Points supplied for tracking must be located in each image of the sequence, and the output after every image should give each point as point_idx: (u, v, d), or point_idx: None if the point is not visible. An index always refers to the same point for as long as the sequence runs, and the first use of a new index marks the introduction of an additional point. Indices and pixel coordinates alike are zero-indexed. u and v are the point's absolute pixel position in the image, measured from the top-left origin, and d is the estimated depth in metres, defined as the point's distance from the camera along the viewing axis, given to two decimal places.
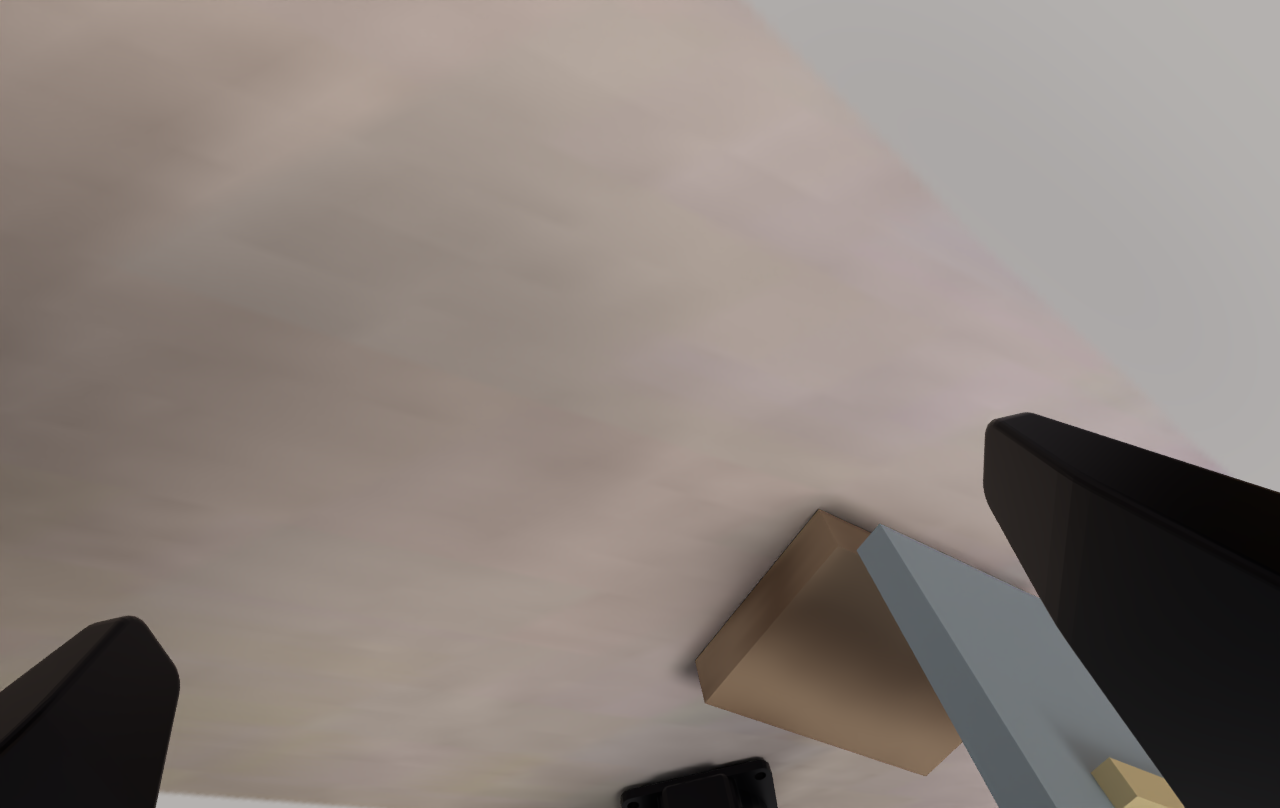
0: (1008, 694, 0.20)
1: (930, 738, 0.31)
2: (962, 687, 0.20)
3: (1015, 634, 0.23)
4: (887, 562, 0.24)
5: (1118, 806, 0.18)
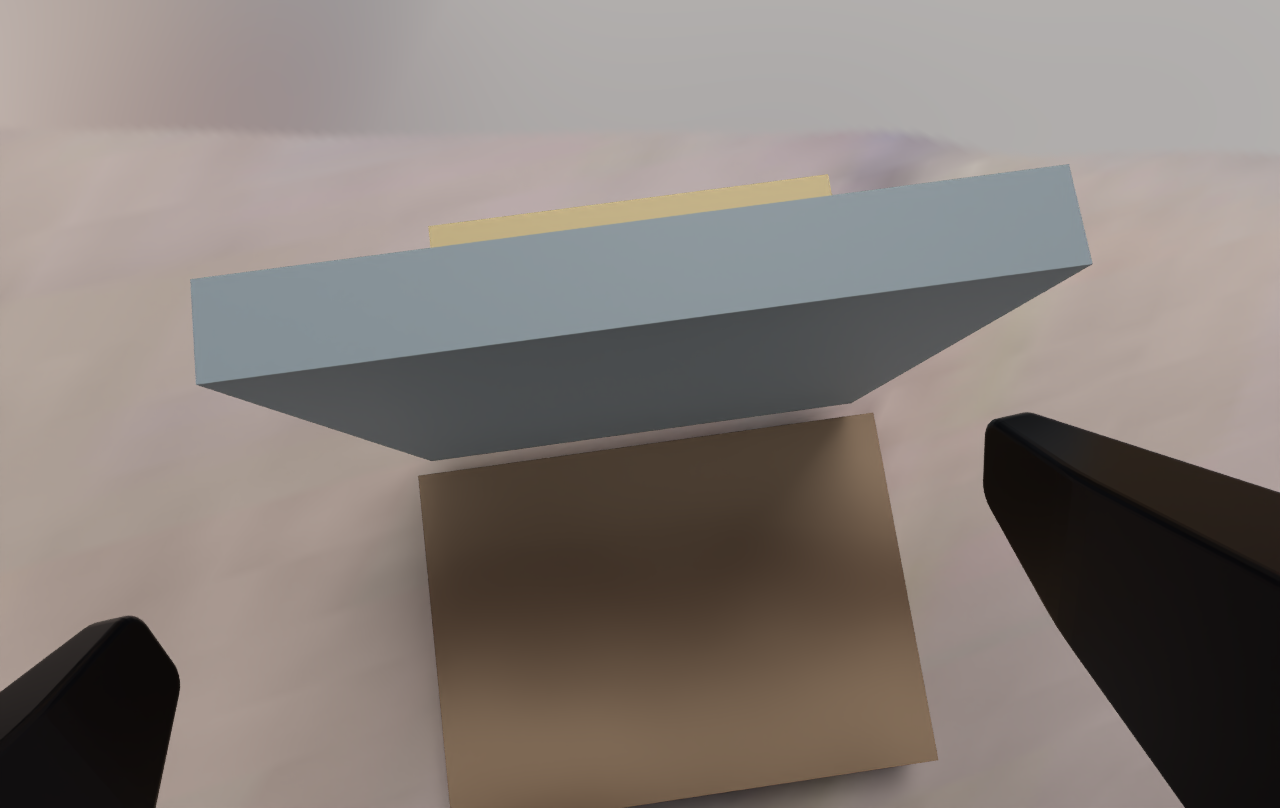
0: None
1: (860, 682, 0.18)
2: None
3: None
4: None
5: None
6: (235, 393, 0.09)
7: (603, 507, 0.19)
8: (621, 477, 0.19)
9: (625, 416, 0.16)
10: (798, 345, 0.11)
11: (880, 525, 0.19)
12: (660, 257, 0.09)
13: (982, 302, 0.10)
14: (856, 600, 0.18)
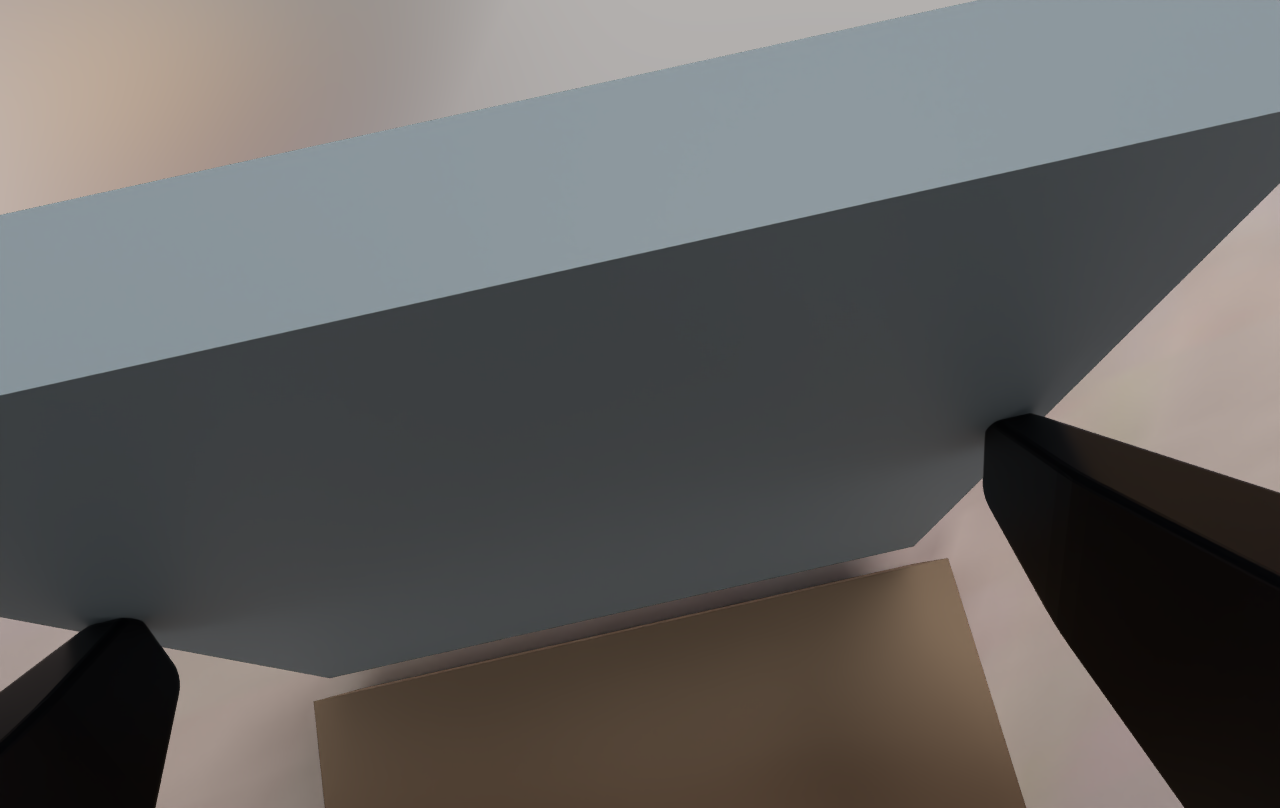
0: None
1: None
2: None
3: None
4: None
5: None
6: None
7: (575, 729, 0.13)
8: (598, 682, 0.13)
9: (572, 582, 0.10)
10: (789, 394, 0.06)
11: (980, 727, 0.13)
12: (450, 180, 0.04)
13: (1123, 255, 0.05)
14: None
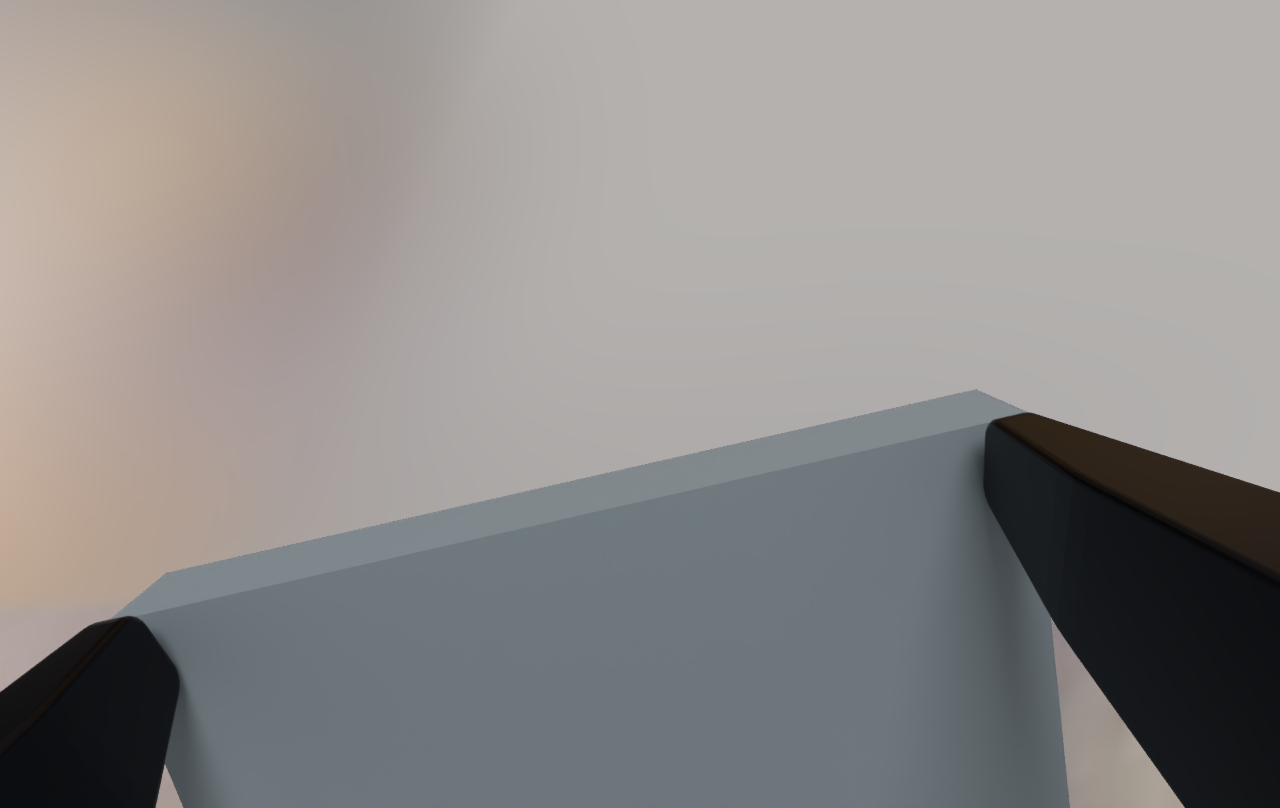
0: None
1: None
2: None
3: None
4: None
5: None
6: None
7: None
8: None
9: None
10: (801, 660, 0.09)
11: None
12: (589, 489, 0.09)
13: (976, 532, 0.09)
14: None
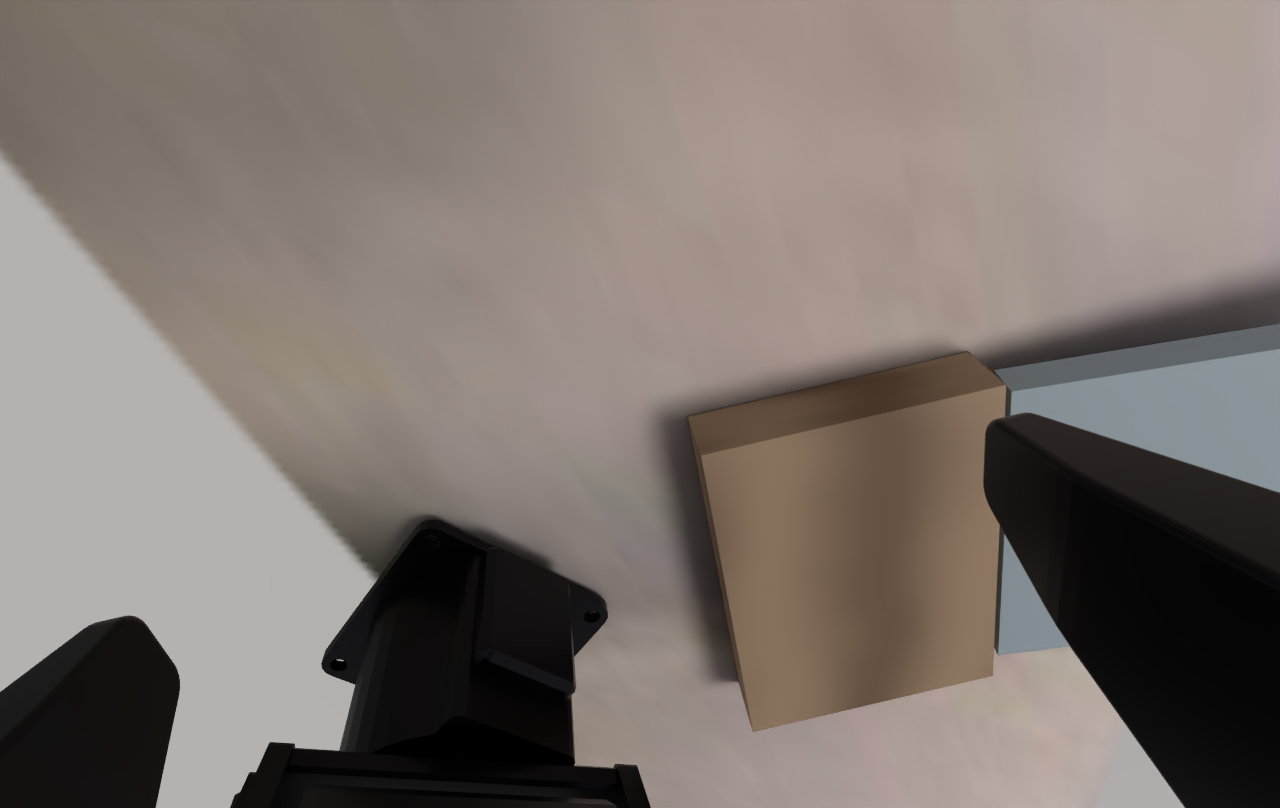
0: None
1: (806, 689, 0.25)
2: (1243, 338, 0.21)
3: None
4: (1053, 369, 0.21)
5: None
6: None
7: (953, 525, 0.22)
8: (975, 534, 0.22)
9: None
10: None
11: (912, 688, 0.25)
12: None
13: None
14: (862, 681, 0.25)
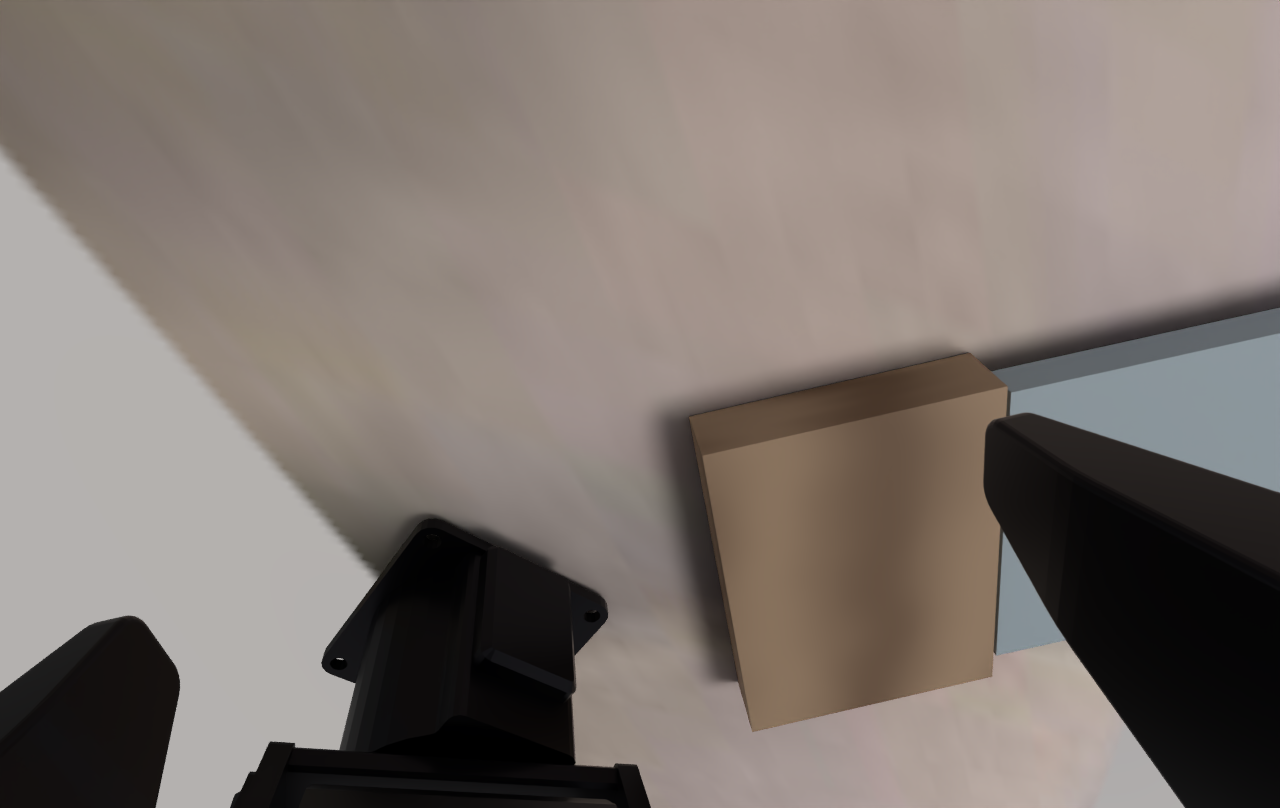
0: None
1: (806, 689, 0.25)
2: (1220, 330, 0.21)
3: None
4: (1047, 368, 0.21)
5: None
6: None
7: (954, 526, 0.22)
8: (976, 535, 0.22)
9: None
10: None
11: (912, 688, 0.25)
12: None
13: None
14: (862, 681, 0.25)
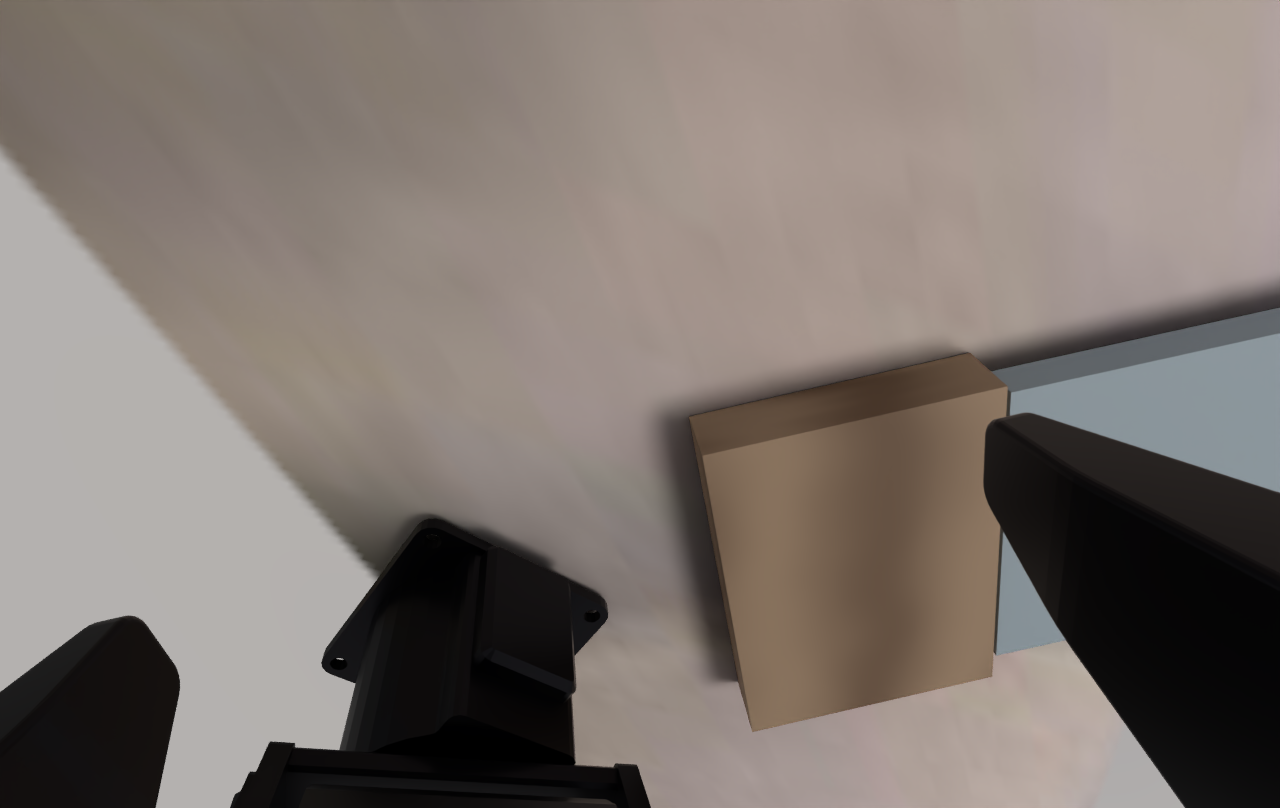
0: None
1: (806, 689, 0.25)
2: (1220, 330, 0.21)
3: None
4: (1047, 368, 0.21)
5: None
6: None
7: (954, 526, 0.22)
8: (976, 535, 0.22)
9: None
10: None
11: (912, 688, 0.25)
12: None
13: None
14: (862, 681, 0.25)
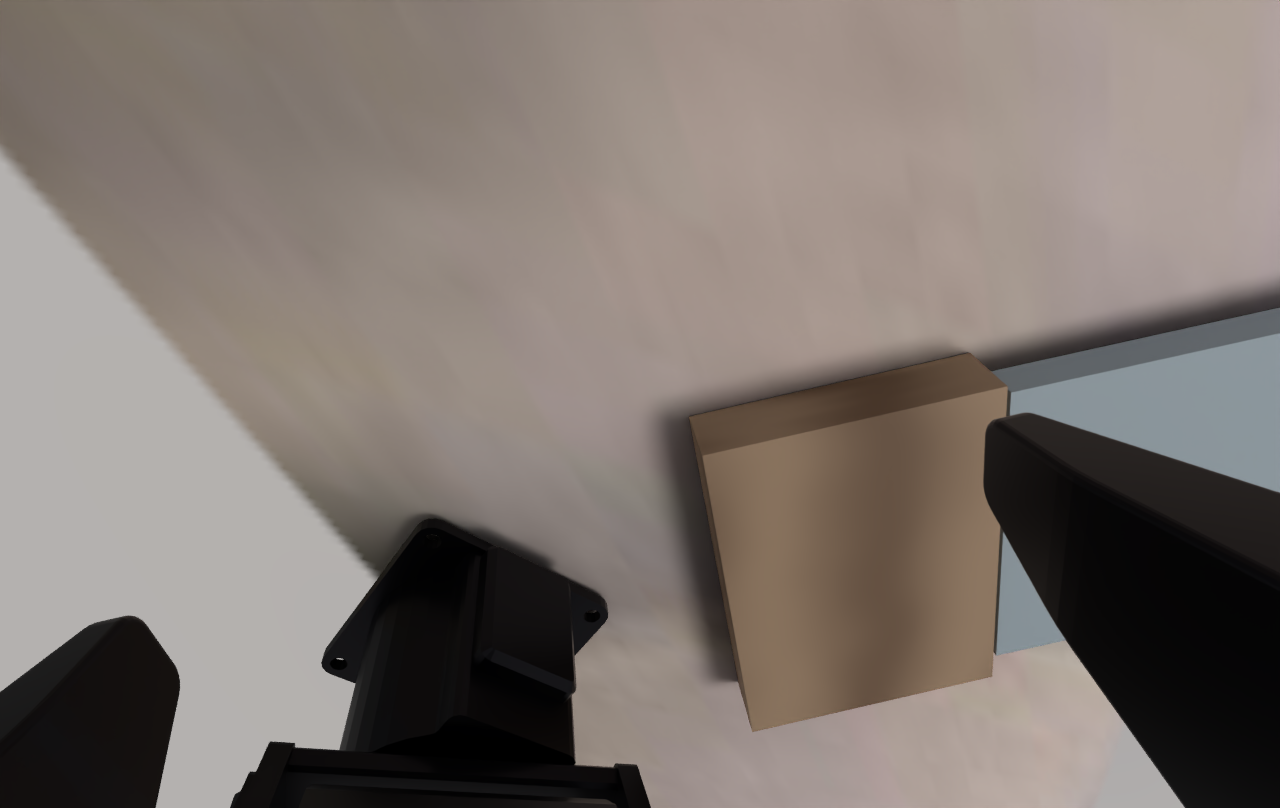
0: None
1: (806, 689, 0.25)
2: (1220, 330, 0.21)
3: None
4: (1047, 368, 0.21)
5: None
6: None
7: (954, 526, 0.22)
8: (976, 535, 0.22)
9: None
10: None
11: (912, 688, 0.25)
12: None
13: None
14: (862, 681, 0.25)
